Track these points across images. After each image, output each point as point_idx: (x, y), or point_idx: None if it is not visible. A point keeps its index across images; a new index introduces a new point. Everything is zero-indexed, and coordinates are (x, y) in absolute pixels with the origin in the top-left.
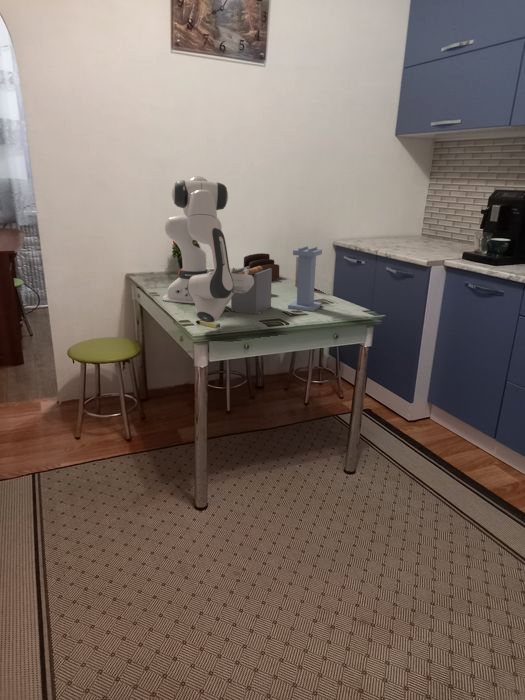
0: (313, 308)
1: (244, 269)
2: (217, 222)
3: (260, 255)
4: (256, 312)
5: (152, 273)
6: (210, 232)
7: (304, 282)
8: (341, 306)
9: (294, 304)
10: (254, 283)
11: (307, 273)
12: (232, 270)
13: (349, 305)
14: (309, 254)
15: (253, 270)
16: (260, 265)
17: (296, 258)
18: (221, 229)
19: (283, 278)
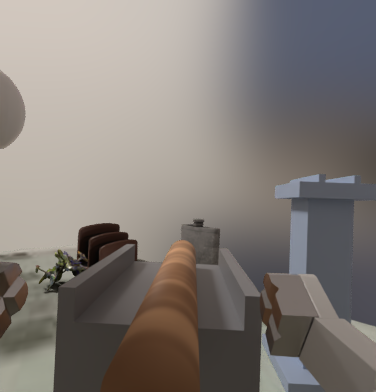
0: None
1: (279, 287)
2: (6, 83)
3: (106, 226)
4: None
5: None
6: None
7: (330, 289)
8: (372, 338)
9: (297, 370)
10: (244, 366)
11: (340, 258)
12: (55, 255)
13: (373, 328)
14: (361, 193)
15: (193, 264)
16: (108, 242)
17: (182, 227)
18: (24, 120)
19: (144, 261)
